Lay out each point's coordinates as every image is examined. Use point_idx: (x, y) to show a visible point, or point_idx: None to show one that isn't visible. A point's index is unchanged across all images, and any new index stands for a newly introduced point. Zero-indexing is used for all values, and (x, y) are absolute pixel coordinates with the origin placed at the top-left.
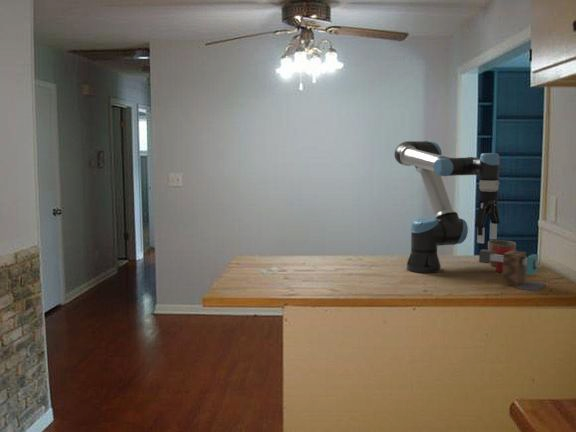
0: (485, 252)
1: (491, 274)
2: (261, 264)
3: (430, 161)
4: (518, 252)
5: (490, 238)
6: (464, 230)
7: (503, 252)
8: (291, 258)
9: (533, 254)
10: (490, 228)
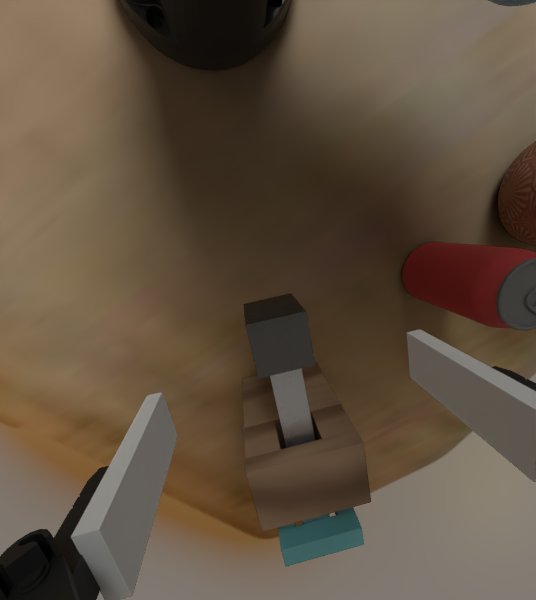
0: (253, 356)
1: (356, 265)
2: None
3: None
4: (334, 490)
5: (408, 338)
6: None
7: (466, 305)
8: None
9: (355, 533)
10: (477, 380)
